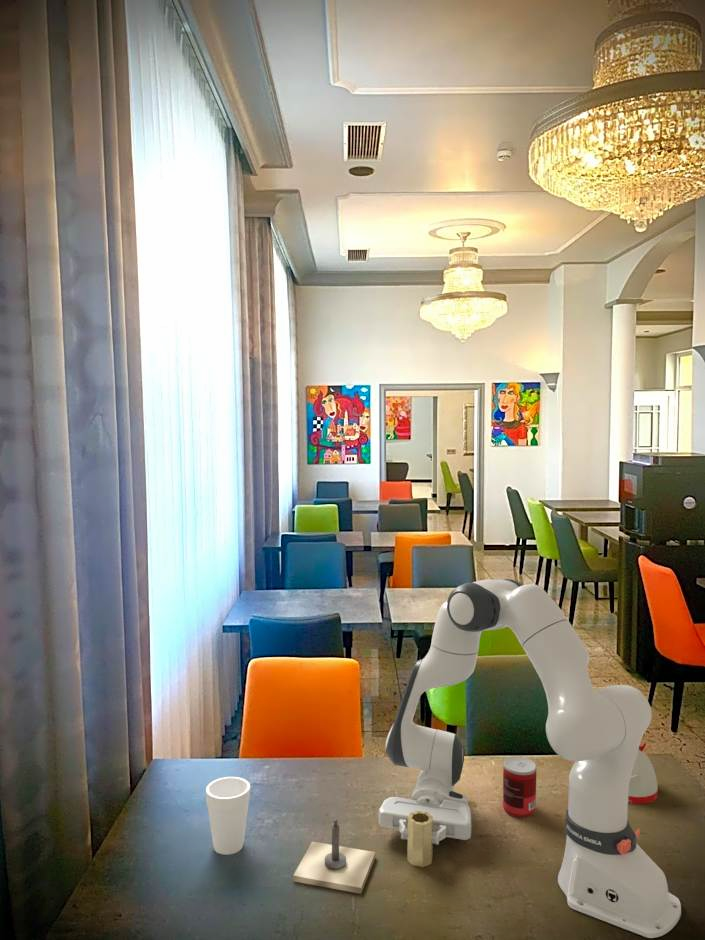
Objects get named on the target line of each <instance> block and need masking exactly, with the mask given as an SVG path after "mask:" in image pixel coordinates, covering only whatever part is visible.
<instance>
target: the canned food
mask: <svg viewBox="0 0 705 940" xmlns="http://www.w3.org/2000/svg"><path fill="white" fill-rule="evenodd" d="M537 770H538V769H537V764H536V763H535V762H534V761H532V760H531V759H529V758H526V757H521V756H520V757H519V756H513V757H508V758H506V759H504V762H503V770H502V771H503V773H502V778H503V779H502V806H503V807H502V808H503V810H504V812H506V813H507V814H508V815H510V816H512V817H515V818H522V819H525V818H528V817H529V818H530V817H531V816H533V815H534V813H535V812H536V805H537V803H536V802H537Z"/></svg>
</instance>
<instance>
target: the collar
mask: <svg viewBox="0 0 705 940" xmlns="http://www.w3.org/2000/svg"><path fill="white" fill-rule="evenodd" d="M432 833H433V816H431V815H430V814H429V813H428V812H422V811H415V812H412V813H410V814H409V817H408V840H407V846H406V847H407V848H406V849H407V851H406V852H407V853H406V854H407V857H406V860H407V862H408V863H410V865H412V866H414V867H420V868H424V867H427V866H430V865H432V862H433V854H434V853H433V851H434V850H433V845H434V844H432V843H431V841H432V839H431V838H432Z"/></svg>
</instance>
